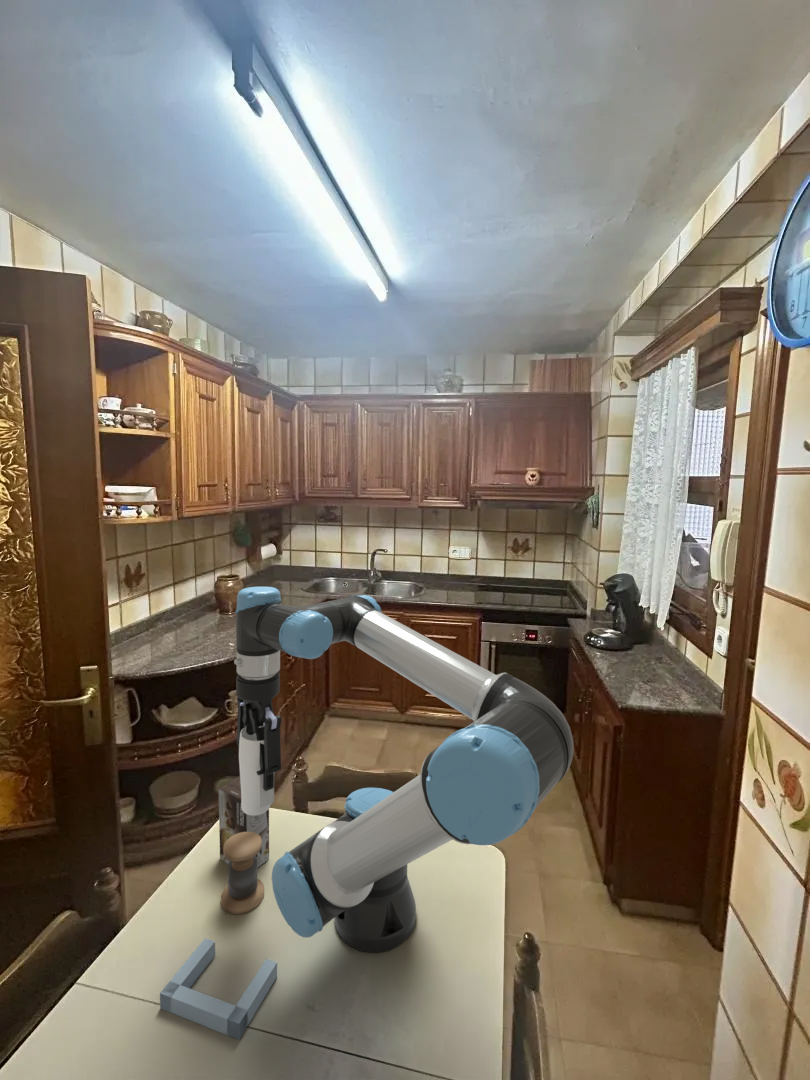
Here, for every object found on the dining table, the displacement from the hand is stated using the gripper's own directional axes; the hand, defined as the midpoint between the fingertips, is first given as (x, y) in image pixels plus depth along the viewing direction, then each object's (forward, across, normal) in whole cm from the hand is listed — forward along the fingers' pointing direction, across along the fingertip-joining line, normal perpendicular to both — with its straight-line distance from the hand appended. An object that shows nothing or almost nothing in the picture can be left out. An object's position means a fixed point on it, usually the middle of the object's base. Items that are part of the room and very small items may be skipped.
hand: (257, 794), depth 91 cm
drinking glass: (+3, 0, 0) cm, 3 cm away
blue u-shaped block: (+23, +11, -11) cm, 28 cm away
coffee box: (+24, -15, +4) cm, 28 cm away
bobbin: (+23, -5, -1) cm, 24 cm away
